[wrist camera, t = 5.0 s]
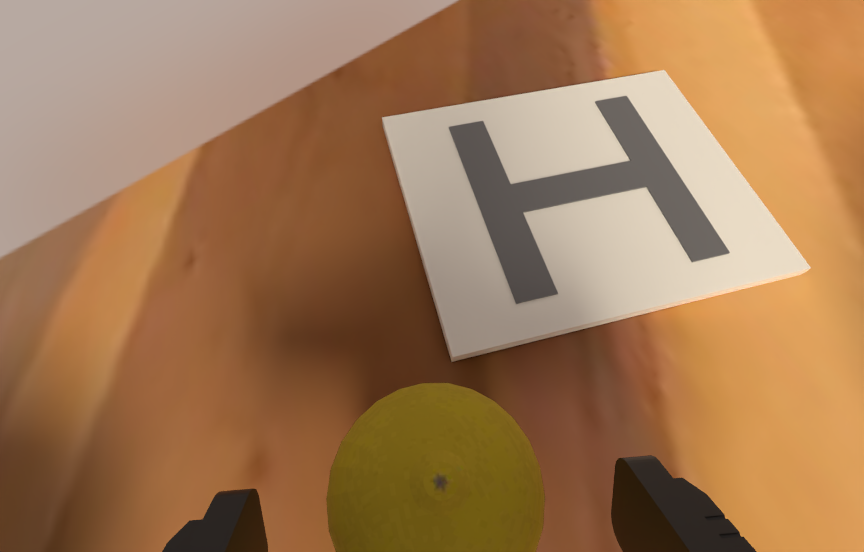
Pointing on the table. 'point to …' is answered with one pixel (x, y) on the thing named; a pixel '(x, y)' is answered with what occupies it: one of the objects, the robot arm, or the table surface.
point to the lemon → (435, 477)
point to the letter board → (577, 210)
